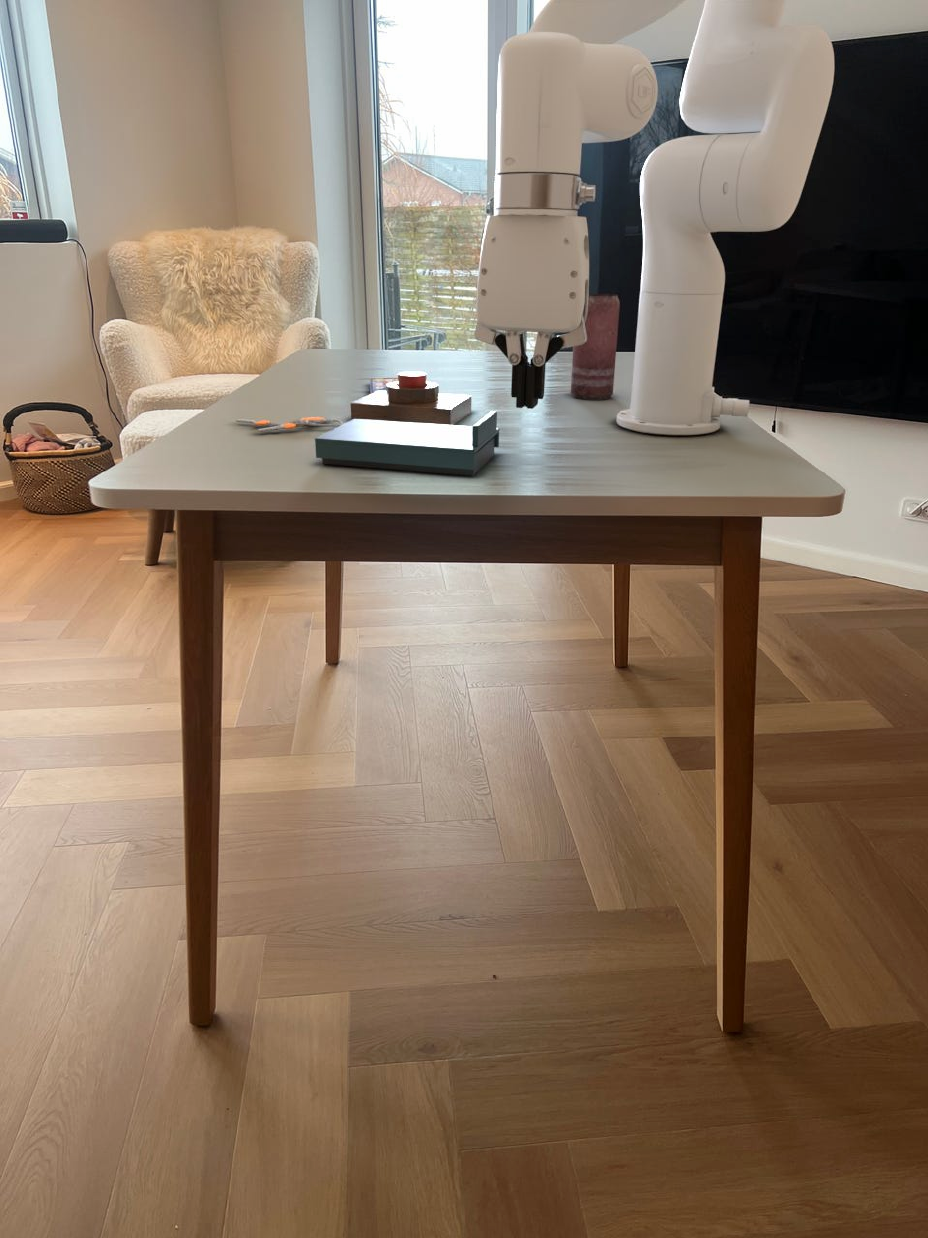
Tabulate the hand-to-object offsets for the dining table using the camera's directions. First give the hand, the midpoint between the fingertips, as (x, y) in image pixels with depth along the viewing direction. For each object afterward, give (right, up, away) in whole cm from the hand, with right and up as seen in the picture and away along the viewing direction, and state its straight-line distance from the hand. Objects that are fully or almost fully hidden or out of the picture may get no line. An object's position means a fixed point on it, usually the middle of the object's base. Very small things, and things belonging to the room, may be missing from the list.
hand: (527, 405), depth 86 cm
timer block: (-13, +5, +27) cm, 30 cm away
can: (+12, +11, +42) cm, 45 cm away
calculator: (-12, -4, +6) cm, 14 cm away
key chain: (-27, +2, +20) cm, 34 cm away
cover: (-12, -4, +6) cm, 14 cm away
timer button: (-13, +8, +25) cm, 30 cm away
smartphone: (-16, +12, +43) cm, 47 cm away
